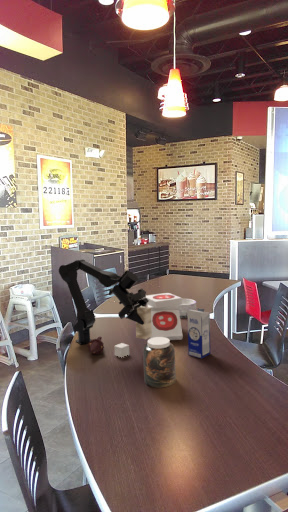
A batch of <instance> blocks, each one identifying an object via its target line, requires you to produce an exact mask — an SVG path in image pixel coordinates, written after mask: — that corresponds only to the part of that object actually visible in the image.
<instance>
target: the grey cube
mask: <svg viewBox="0 0 288 512" xmlns="http://www.w3.org/2000/svg"><path fill="white" fill-rule="evenodd" d="M127 355H128V356H130V345H129V344H126V343H124V342H121V343H118V344H116V345H114V356H115V357H117V356H118V358H120V357H121V358H120V359H123V358H125V357H124V356H126V357H128V356H127ZM122 357H123V358H122Z"/></svg>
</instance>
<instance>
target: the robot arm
mask: <svg viewBox="0 0 288 512" xmlns="http://www.w3.org/2000/svg"><path fill="white" fill-rule="evenodd" d="M79 270H80V271H82V272H84V273H86V274H88V275H89V276H91V277H93V278H94V279H97V280H98V283H100V284H101V285H102V286H103V287H105V288H110V287H112V288H110V289H109V290H108V291H109V292H108V295H109V296H112V295H114V296H115V297H116V298H117V299H118V301H119V302H118V304H119V305H123V308H122V309H120V311H119V312H118V313H117V314H118V317H119V319H121V320H123V319H124V318H125V319H128V320H131V321H133V322H135V323H136V322H137V323H139V324H142V325H143V324H144V322H143V320H142V319H141V317H140V316H139V315H138V313H137V308H138V307H141V306H143V307H147V303H148V302H149V300H148V299H147V298H143V297H146V296H147V291H146V290H145V289H143V288H140V289H138V290H137V292H135V293H133V292H129V290H131V289H132V288H133V286H134V285H135V284H136V283H137V282H138V281H139V278H138V276H137V274H136V273H134V272H132V271H130V270H129V269H127V270H125V271H124V273H122V275H118V274H117V272H116V273H115V272H113V271H109V270H104V269H101V268H100V267H97V266H95V265H93V264H92V263H89V262H88V261H86V260H85V259H84V258H83V259H82V258H80V259H76V260H74V261H73V262H70V263H65V264H62V265H60V266H59V268H58V274H59V275H60V278H61V280H63V281H64V282H65V283H66V285H67V287H68V290H69V292H70V295H71V299H72V301H73V303H74V307H75V309H76V323H75V324H74V326H73V328H72V329H73V331H74V332H76V333H77V339H76V340H75V342H77V343H78V344H80V345H85V344H88V343H89V342H90V341H91V340H92V339H91V331H90V330H91V328H93V327H94V324H95V322H96V317H97V316H96V315H95V312H94V310H93V309H90V308H88V306H87V304H86V301H85V299H84V295H83V293H82V290H81V287H80V285H79V282H78V271H79Z"/></svg>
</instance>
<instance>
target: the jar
mask: <svg viewBox="0 0 288 512" xmlns="http://www.w3.org/2000/svg"><path fill="white" fill-rule="evenodd" d="M170 341H171V340H169V339H168V338H165V337H154V338H150V337H149V338H148V339H147V343H146V344H144V346H143V350H142V351H143V352H142V353H143V356H142V357H143V377H144V378H143V379H144V383H145V385H147V386H149V387H150V388H151V387H152V388H156V389H157V388H158V389H159V388H167V387H169V386H172V385H174V384H175V382H176V380H177V379H176V354H175V353H176V352H175V345H174V344H173V343H171V342H170Z"/></svg>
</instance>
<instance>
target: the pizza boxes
mask: <svg viewBox="0 0 288 512" xmlns="http://www.w3.org/2000/svg"><path fill="white" fill-rule="evenodd" d="M143 298H147V299H148V300H149V302H148V303H147V305H146V307H151V329H152V336H151V337H149V339H150V338H154V337H165V338H168V339H169V340H170V341H178V340H180V341H181V340H183V337H184V335H183V330H182V323H181V322H182V321H181V316H180V315H179V310H178V305H180V304H182V299H183V298H182V297H180V296H178V295H176V294H172V293H170V292H163V293H156V294H155V293H154V294H148V295H147V294H146V297H143Z"/></svg>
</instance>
